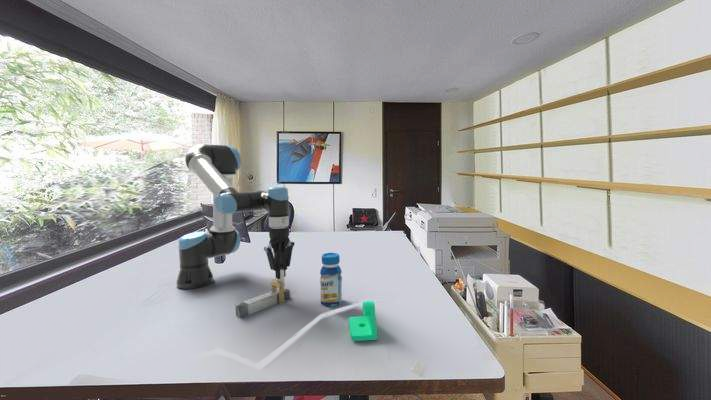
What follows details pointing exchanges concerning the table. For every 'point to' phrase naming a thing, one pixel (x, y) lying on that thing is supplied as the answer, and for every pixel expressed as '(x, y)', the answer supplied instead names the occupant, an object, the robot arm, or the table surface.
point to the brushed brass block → (279, 284)
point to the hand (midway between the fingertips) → (280, 285)
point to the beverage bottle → (331, 280)
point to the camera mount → (364, 324)
